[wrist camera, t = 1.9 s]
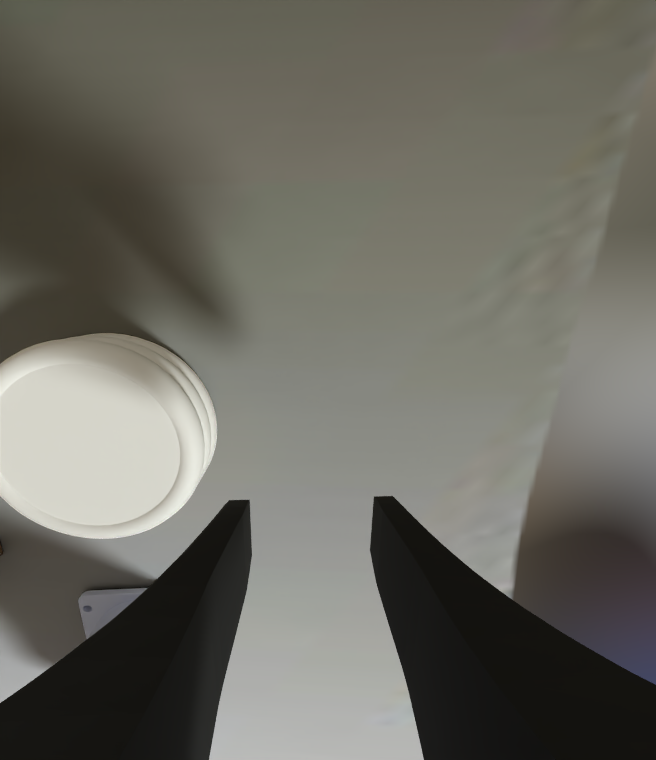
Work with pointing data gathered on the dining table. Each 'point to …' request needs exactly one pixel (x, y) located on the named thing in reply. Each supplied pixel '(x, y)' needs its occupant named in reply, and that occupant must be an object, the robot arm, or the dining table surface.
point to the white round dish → (102, 434)
